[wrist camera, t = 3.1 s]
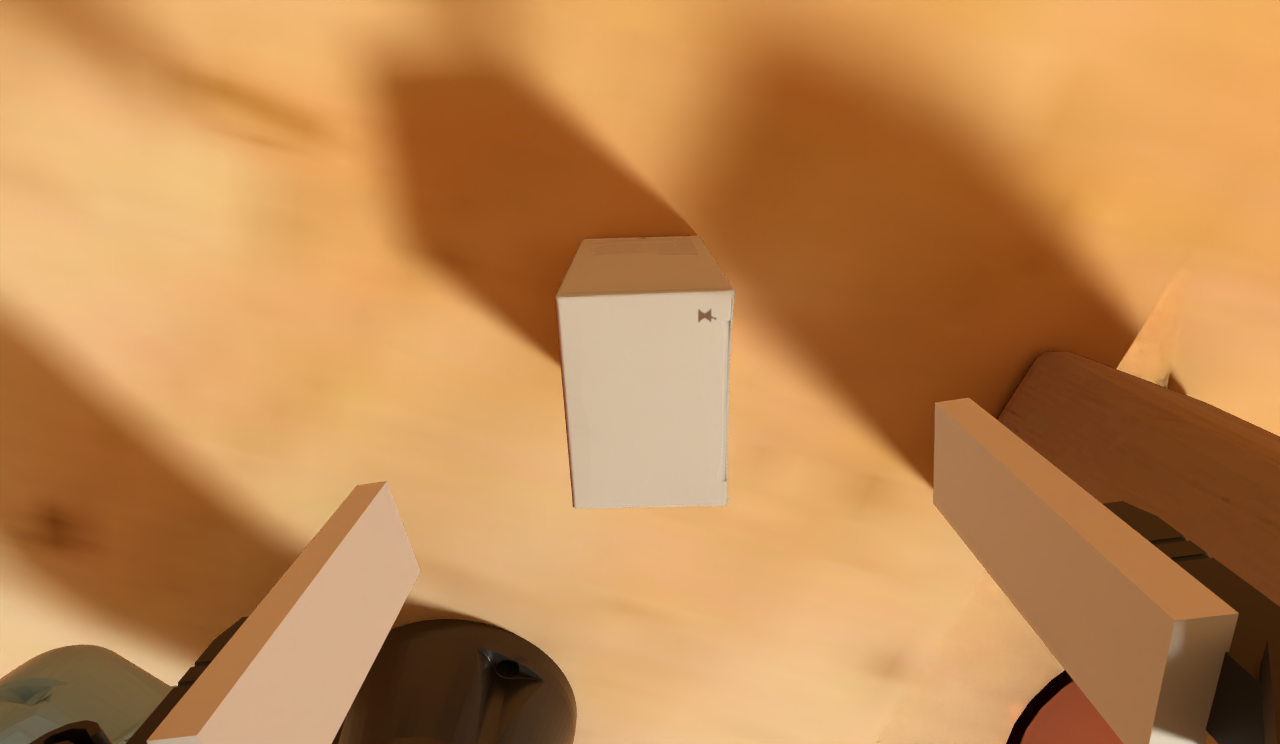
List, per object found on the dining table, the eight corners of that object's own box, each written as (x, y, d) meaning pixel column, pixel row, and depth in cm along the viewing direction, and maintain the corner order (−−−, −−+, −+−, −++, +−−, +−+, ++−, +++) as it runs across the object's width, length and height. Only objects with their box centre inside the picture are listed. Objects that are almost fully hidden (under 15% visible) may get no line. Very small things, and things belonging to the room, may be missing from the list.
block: (1089, 551, 34) (1632, 1044, 15) (935, 500, 33) (1324, 969, 14) (1204, 400, 31) (2076, 799, 12) (1037, 338, 30) (1722, 675, 11)
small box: (581, 236, 28) (550, 288, 18) (702, 233, 28) (737, 283, 18) (591, 394, 31) (568, 514, 21) (700, 392, 31) (729, 510, 21)
